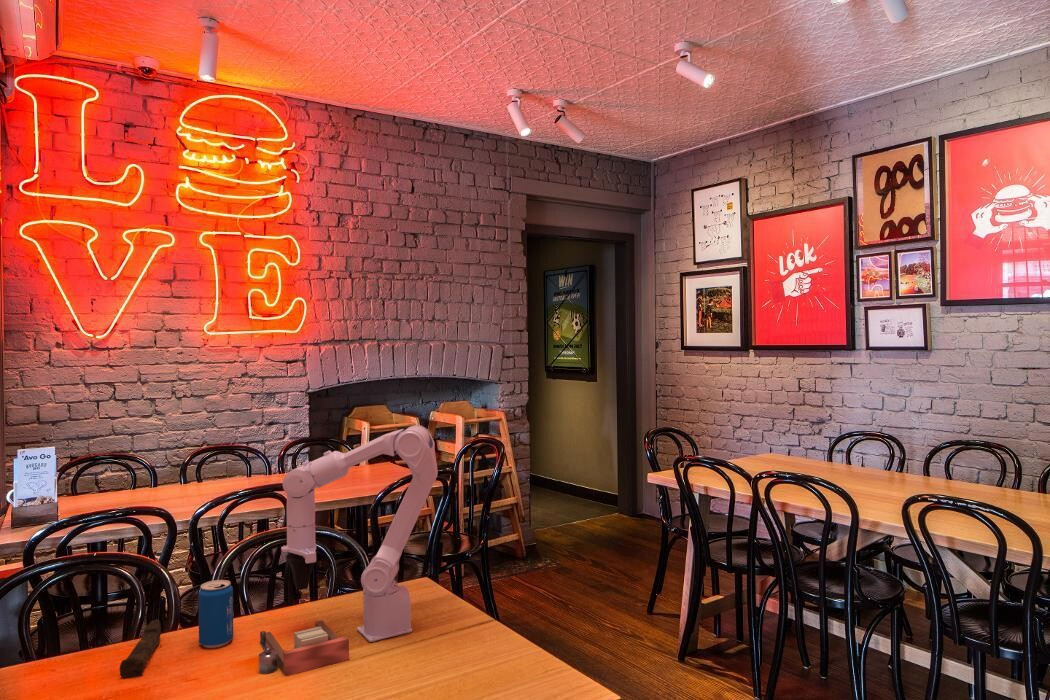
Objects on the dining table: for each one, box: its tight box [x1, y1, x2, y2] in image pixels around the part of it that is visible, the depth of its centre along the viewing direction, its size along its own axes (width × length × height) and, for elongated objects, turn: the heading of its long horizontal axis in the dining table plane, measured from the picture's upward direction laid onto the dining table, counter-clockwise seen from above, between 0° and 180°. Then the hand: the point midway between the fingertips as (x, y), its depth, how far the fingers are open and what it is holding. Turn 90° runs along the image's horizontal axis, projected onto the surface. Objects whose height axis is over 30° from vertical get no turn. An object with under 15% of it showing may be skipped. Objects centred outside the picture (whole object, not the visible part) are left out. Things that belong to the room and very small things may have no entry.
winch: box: [258, 630, 278, 675], centre depth 132 cm, size 3×6×6 cm, turn 33°
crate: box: [293, 627, 328, 649], centre depth 135 cm, size 5×5×5 cm
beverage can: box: [197, 579, 234, 649], centre depth 143 cm, size 6×6×12 cm
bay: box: [266, 619, 350, 677], centre depth 138 cm, size 12×17×4 cm
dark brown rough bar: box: [119, 619, 162, 679], centre depth 137 cm, size 19×4×5 cm, turn 12°
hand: (301, 588), depth 147 cm, fingers closed
